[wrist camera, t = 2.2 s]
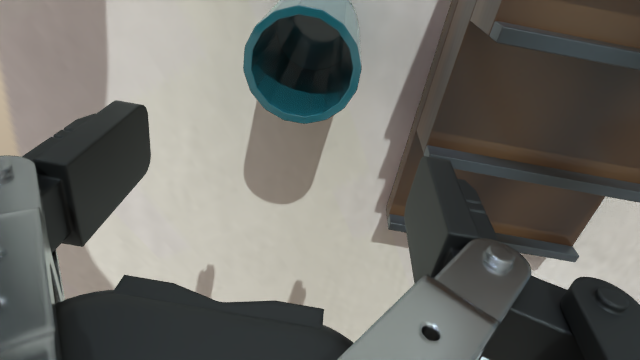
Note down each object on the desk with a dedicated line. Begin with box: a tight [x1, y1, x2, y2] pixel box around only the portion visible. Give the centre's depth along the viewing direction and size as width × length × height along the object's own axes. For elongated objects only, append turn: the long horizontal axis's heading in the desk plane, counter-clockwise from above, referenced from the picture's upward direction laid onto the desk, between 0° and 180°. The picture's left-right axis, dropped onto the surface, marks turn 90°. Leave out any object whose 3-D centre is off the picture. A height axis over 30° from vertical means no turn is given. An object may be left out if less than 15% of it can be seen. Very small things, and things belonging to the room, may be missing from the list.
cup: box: [243, 0, 361, 124], centre depth 23 cm, size 6×6×8 cm
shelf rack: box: [386, 0, 640, 262], centre depth 22 cm, size 15×24×12 cm, turn 170°
